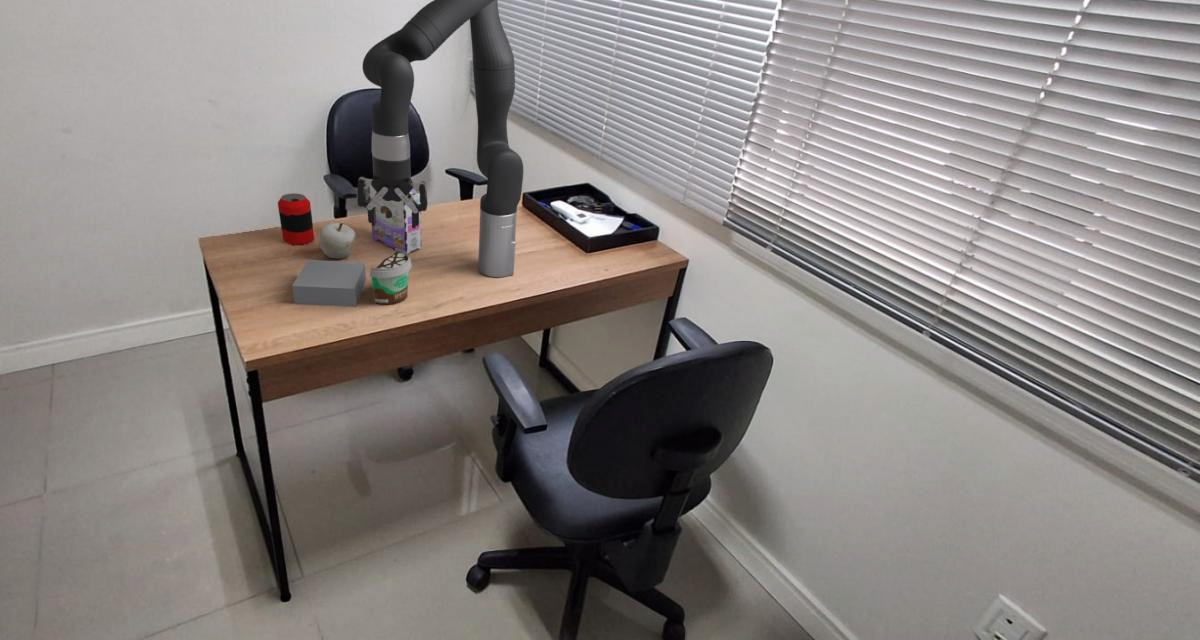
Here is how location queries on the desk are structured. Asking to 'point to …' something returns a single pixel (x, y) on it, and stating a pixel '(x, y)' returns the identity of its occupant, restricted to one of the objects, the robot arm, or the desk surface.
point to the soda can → (296, 219)
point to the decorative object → (337, 240)
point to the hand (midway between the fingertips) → (394, 225)
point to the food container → (391, 279)
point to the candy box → (396, 224)
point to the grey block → (329, 283)
